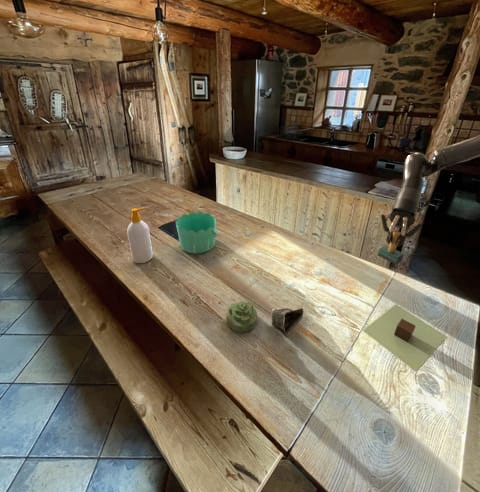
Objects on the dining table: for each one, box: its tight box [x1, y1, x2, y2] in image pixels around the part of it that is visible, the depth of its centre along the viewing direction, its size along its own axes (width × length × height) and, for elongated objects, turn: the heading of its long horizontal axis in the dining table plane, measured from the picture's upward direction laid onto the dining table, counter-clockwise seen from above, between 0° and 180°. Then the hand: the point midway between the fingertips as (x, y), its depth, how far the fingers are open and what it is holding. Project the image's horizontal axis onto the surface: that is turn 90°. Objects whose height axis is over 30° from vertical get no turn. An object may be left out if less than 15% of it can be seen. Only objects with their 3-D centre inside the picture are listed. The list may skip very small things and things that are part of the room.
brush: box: [377, 230, 405, 265], centre depth 97 cm, size 4×7×11 cm, turn 34°
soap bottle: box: [126, 207, 154, 264], centre depth 113 cm, size 9×9×24 cm
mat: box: [362, 303, 448, 373], centre depth 83 cm, size 20×16×1 cm
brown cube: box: [394, 318, 416, 342], centre depth 81 cm, size 4×4×4 cm
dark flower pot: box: [270, 307, 305, 336], centre depth 87 cm, size 10×7×12 cm
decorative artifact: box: [225, 301, 258, 333], centre depth 86 cm, size 10×7×10 cm
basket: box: [175, 211, 219, 254], centre depth 125 cm, size 19×18×13 cm
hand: (393, 244), depth 95 cm, fingers closed on brush, 2 cm apart
